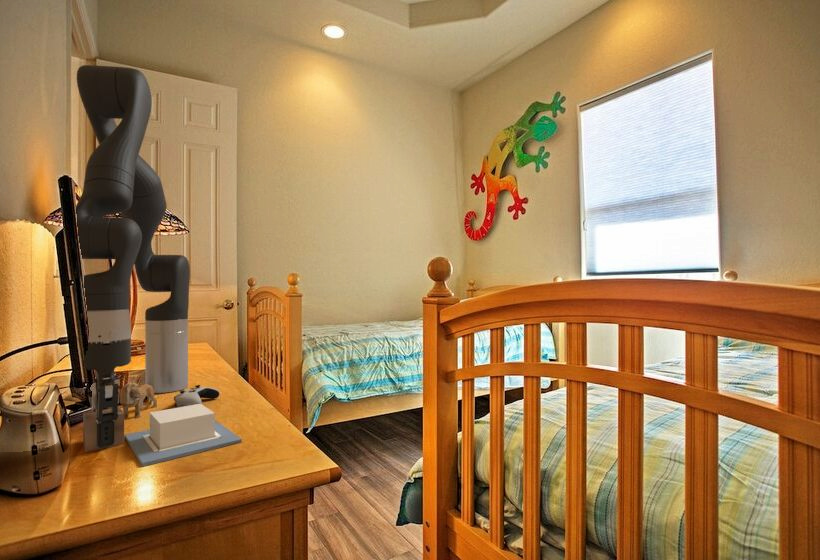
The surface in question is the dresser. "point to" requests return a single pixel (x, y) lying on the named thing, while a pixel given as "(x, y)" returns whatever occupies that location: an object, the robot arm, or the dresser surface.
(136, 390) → the lion figurine
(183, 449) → the board
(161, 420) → the base slab
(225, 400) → the dresser surface
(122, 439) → the walnut cube
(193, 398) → the game controller
